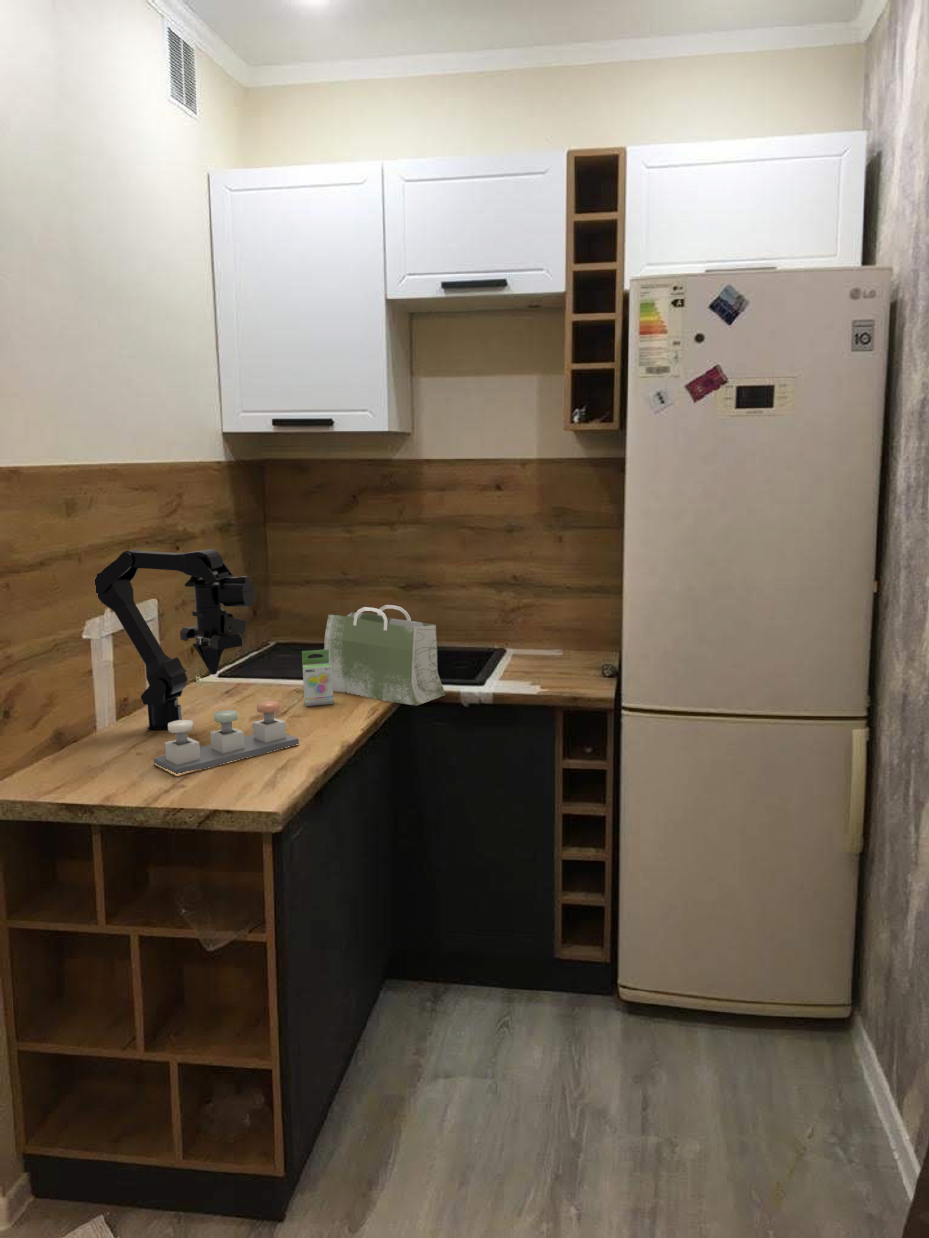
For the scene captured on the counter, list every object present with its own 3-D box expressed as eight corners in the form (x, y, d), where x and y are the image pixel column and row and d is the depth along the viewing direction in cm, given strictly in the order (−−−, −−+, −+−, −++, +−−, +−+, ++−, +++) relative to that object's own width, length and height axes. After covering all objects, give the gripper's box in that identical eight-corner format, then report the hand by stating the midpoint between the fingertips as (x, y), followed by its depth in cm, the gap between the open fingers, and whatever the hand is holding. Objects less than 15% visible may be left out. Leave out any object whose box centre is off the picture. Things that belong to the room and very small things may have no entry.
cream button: (165, 745, 189) (163, 723, 188) (187, 740, 192) (186, 718, 192) (176, 750, 186) (174, 727, 185) (198, 745, 189) (196, 722, 188)
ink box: (305, 706, 233) (303, 654, 231) (304, 703, 237) (301, 651, 235) (333, 704, 235) (331, 651, 233) (331, 700, 239) (329, 648, 236)
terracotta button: (253, 724, 202) (252, 704, 202) (273, 720, 206) (271, 699, 205) (265, 729, 199) (264, 708, 198) (284, 724, 202) (283, 703, 201)
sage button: (211, 734, 196) (209, 713, 195) (231, 729, 199) (230, 708, 198) (222, 739, 192) (220, 717, 192) (243, 734, 196) (241, 713, 195)
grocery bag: (448, 694, 243) (446, 605, 239) (415, 706, 231) (412, 613, 227) (355, 679, 261) (351, 597, 257) (320, 690, 250) (316, 604, 246)
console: (154, 765, 191) (152, 741, 190) (274, 735, 209) (272, 713, 209) (176, 776, 184) (174, 752, 183) (298, 745, 202) (297, 722, 201)
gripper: (262, 605, 209) (266, 674, 212) (220, 598, 223) (225, 662, 225) (216, 612, 202) (221, 683, 204) (176, 603, 215) (181, 670, 218)
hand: (213, 674), depth 213 cm, fingers closed
